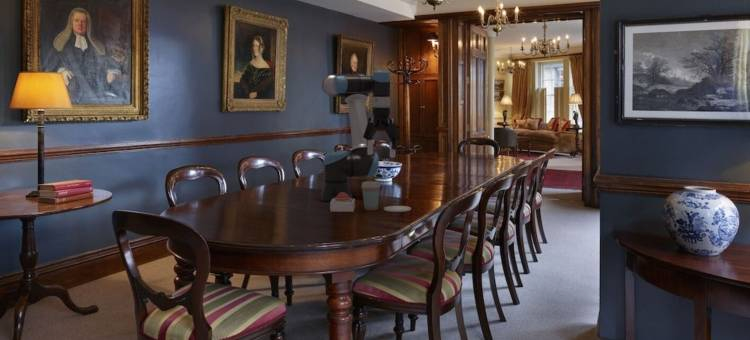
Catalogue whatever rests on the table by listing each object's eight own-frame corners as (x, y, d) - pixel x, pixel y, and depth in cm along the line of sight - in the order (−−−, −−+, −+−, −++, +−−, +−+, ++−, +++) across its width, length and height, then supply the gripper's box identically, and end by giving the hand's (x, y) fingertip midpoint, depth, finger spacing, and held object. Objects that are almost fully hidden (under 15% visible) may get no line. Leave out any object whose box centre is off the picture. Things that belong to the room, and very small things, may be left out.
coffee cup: (383, 208, 254) (383, 181, 253) (377, 211, 246) (376, 184, 245) (365, 207, 257) (365, 180, 256) (358, 210, 249) (358, 183, 248)
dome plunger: (333, 205, 247) (333, 194, 247) (335, 202, 255) (335, 191, 254) (350, 205, 247) (350, 194, 247) (352, 202, 255) (352, 191, 254)
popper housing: (330, 211, 247) (330, 202, 246) (332, 207, 257) (332, 198, 256) (353, 211, 246) (353, 202, 246) (355, 207, 256) (354, 198, 256)
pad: (378, 209, 252) (378, 207, 252) (398, 205, 259) (398, 204, 259) (396, 212, 243) (396, 211, 243) (416, 209, 250) (416, 208, 250)
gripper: (355, 106, 251) (355, 154, 254) (396, 107, 234) (396, 159, 237) (367, 106, 256) (367, 152, 259) (408, 107, 239) (408, 157, 242)
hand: (381, 155), depth 248 cm, fingers open, 13 cm apart
